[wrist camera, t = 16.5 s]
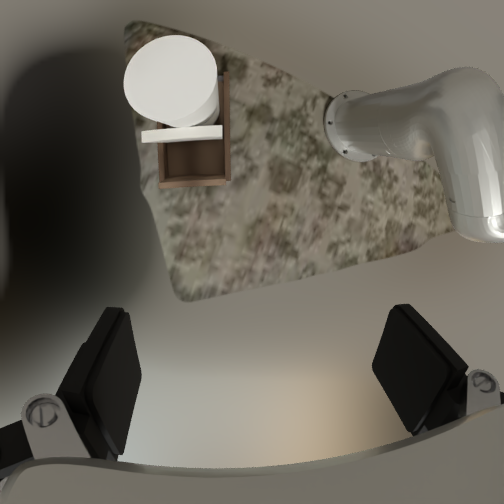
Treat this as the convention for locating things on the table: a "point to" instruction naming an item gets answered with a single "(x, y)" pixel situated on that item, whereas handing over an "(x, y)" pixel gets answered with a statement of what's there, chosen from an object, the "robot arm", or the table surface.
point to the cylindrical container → (174, 82)
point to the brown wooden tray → (198, 152)
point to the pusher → (183, 134)
